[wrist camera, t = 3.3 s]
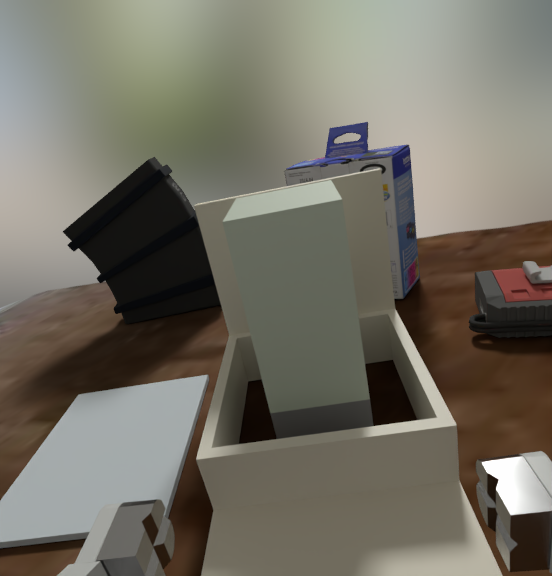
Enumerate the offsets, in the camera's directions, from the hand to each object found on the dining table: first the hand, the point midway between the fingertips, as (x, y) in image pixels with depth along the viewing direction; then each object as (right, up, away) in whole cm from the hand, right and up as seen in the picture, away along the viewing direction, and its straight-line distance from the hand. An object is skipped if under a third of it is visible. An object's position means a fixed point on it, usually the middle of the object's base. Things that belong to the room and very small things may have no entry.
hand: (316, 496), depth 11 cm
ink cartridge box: (+7, +5, +30) cm, 31 cm away
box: (+2, -2, +14) cm, 14 cm away
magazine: (-12, +3, +34) cm, 36 cm away
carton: (+2, -3, +12) cm, 12 cm away
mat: (-11, -4, +15) cm, 19 cm away
